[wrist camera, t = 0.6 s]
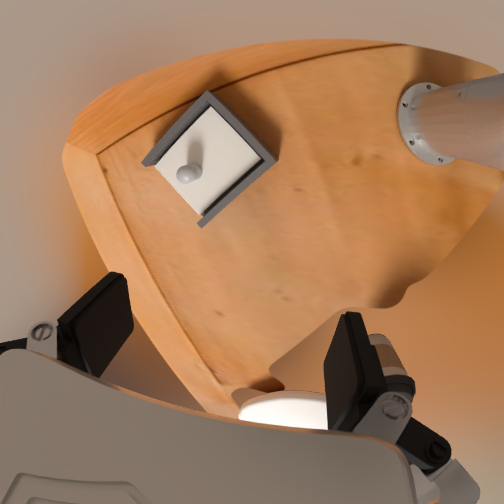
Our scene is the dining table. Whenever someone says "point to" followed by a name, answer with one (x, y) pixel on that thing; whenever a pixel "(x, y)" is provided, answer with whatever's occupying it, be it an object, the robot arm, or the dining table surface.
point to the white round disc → (287, 409)
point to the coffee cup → (393, 367)
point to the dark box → (214, 101)
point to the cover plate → (207, 160)
